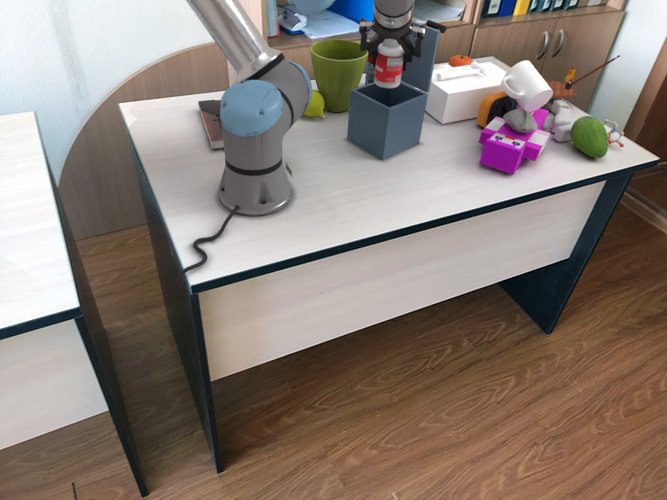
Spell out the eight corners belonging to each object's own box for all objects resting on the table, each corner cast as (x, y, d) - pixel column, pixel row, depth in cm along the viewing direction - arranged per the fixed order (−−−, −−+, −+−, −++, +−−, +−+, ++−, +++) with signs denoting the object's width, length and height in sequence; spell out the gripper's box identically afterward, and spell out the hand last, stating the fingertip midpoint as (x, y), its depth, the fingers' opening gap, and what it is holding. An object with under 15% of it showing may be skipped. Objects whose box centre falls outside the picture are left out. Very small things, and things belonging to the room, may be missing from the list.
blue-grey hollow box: (382, 160, 129) (389, 109, 120) (346, 139, 136) (350, 89, 127) (419, 143, 136) (428, 94, 127) (383, 124, 143) (389, 76, 134)
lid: (437, 31, 117) (461, 23, 122) (395, 15, 124) (419, 8, 129) (427, 92, 127) (449, 83, 131) (388, 75, 134) (411, 66, 138)
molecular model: (593, 117, 139) (594, 143, 138) (626, 117, 138) (627, 143, 136) (584, 129, 146) (585, 154, 145) (615, 130, 145) (617, 155, 143)
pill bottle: (371, 77, 127) (376, 30, 119) (397, 78, 127) (403, 30, 120) (376, 89, 122) (381, 40, 115) (402, 89, 123) (409, 40, 115)
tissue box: (513, 110, 154) (524, 73, 146) (442, 123, 145) (450, 85, 137) (482, 89, 163) (491, 54, 156) (413, 101, 154) (420, 64, 147)
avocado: (575, 111, 133) (599, 150, 129) (600, 107, 135) (624, 145, 131) (558, 131, 140) (580, 169, 136) (581, 127, 142) (604, 163, 138)
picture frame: (198, 109, 143) (212, 150, 128) (197, 100, 141) (211, 140, 126) (259, 103, 147) (279, 142, 132) (259, 95, 146) (279, 133, 131)
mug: (527, 90, 129) (505, 60, 133) (507, 114, 135) (486, 85, 139) (559, 89, 135) (536, 60, 139) (538, 112, 141) (517, 83, 145)
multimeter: (480, 96, 140) (490, 101, 138) (523, 82, 148) (533, 86, 146) (473, 126, 145) (482, 131, 143) (515, 110, 154) (525, 115, 152)
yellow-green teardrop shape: (317, 100, 148) (333, 124, 143) (293, 108, 146) (309, 133, 141) (317, 80, 141) (334, 105, 137) (293, 88, 140) (309, 113, 135)
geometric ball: (429, 77, 165) (428, 96, 161) (432, 57, 158) (431, 76, 154) (454, 79, 164) (454, 98, 160) (458, 58, 157) (458, 77, 154)
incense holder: (505, 79, 172) (511, 43, 167) (607, 87, 163) (616, 49, 158) (499, 94, 155) (506, 54, 149) (612, 104, 146) (623, 61, 140)
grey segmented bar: (553, 141, 141) (579, 146, 140) (558, 129, 138) (584, 133, 138) (544, 108, 156) (568, 112, 155) (549, 96, 153) (573, 100, 153)
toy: (562, 114, 142) (533, 155, 121) (554, 135, 146) (525, 178, 125) (509, 99, 147) (473, 136, 126) (503, 119, 151) (467, 158, 130)
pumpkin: (475, 78, 170) (480, 54, 165) (458, 83, 166) (464, 59, 161) (457, 70, 174) (462, 47, 170) (440, 74, 170) (445, 51, 166)
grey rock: (539, 141, 126) (549, 121, 123) (506, 131, 126) (514, 110, 123) (529, 129, 136) (538, 110, 134) (498, 119, 136) (506, 100, 134)
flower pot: (313, 120, 142) (315, 60, 132) (304, 95, 153) (306, 39, 142) (367, 117, 145) (374, 59, 134) (355, 93, 156) (360, 38, 145)
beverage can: (360, 86, 160) (364, 46, 152) (380, 83, 162) (384, 44, 155) (370, 96, 156) (375, 55, 148) (390, 93, 158) (396, 52, 150)
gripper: (341, 24, 103) (347, 73, 126) (440, 35, 101) (428, 83, 124) (347, -13, 103) (352, 43, 126) (446, -2, 102) (433, 52, 124)
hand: (389, 63), depth 125 cm, fingers closed on pill bottle, 6 cm apart
